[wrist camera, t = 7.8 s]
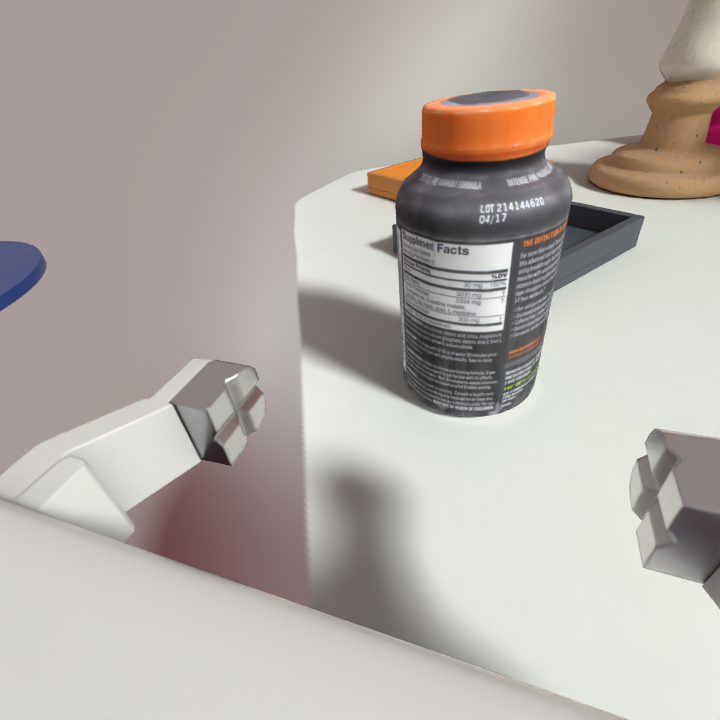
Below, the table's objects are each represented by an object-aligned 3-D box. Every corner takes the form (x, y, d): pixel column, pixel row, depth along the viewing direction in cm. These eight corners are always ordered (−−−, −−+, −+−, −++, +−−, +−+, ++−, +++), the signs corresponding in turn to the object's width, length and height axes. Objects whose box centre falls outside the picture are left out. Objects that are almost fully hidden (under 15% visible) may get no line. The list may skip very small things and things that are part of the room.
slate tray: (393, 251, 32) (392, 225, 31) (497, 211, 37) (499, 186, 36) (525, 308, 24) (530, 274, 22) (635, 246, 29) (645, 216, 27)
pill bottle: (485, 329, 22) (513, 78, 16) (563, 396, 18) (650, 83, 11) (383, 359, 21) (365, 100, 14) (439, 440, 17) (451, 116, 10)
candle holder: (636, 158, 46) (713, -108, 34) (770, 177, 37) (938, -174, 25) (560, 182, 42) (616, -113, 30) (691, 209, 33) (847, -195, 21)
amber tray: (368, 192, 45) (367, 172, 44) (454, 166, 51) (454, 148, 50) (457, 218, 36) (458, 194, 35) (549, 183, 42) (553, 161, 41)
